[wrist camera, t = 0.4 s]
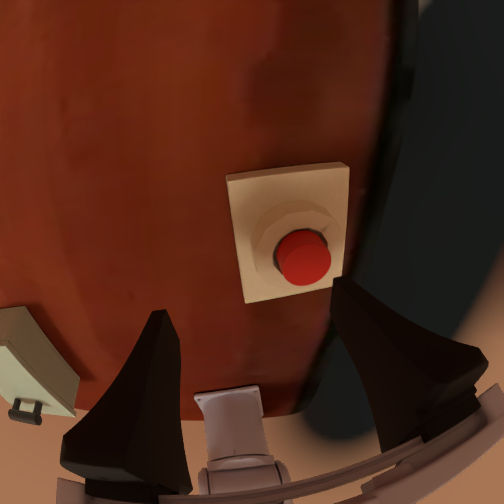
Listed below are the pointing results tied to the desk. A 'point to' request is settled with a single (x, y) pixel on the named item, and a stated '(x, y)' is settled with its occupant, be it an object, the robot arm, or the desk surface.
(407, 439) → the robot arm
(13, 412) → the freezer lid
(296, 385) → the desk surface
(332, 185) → the control block
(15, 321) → the box
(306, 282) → the power button
